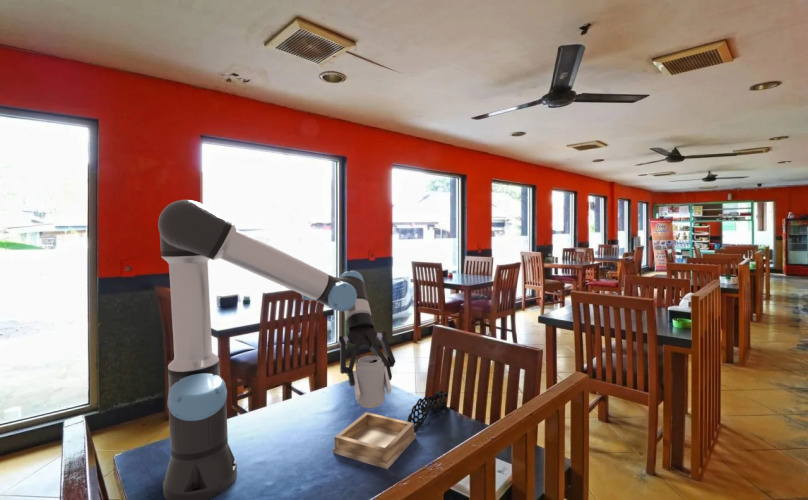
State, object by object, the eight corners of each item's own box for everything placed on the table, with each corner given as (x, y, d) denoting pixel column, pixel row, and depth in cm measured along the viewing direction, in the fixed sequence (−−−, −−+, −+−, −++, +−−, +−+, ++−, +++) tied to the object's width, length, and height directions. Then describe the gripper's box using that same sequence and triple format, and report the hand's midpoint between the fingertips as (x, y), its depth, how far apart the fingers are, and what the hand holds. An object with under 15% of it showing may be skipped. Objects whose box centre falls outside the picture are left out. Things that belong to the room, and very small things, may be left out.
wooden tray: (333, 452, 104) (332, 437, 104) (366, 425, 118) (365, 411, 118) (387, 469, 97) (387, 452, 96) (415, 437, 111) (415, 423, 111)
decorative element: (419, 435, 113) (419, 415, 113) (403, 430, 115) (403, 410, 115) (450, 404, 132) (450, 386, 132) (436, 400, 135) (436, 383, 135)
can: (378, 411, 102) (377, 365, 101) (351, 407, 104) (350, 362, 103) (389, 398, 109) (388, 355, 108) (363, 395, 111) (362, 352, 111)
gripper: (389, 321, 123) (408, 394, 109) (322, 328, 117) (332, 406, 103) (394, 308, 118) (414, 382, 104) (324, 314, 111) (335, 394, 97)
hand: (373, 394), depth 103 cm, fingers closed on can, 7 cm apart
